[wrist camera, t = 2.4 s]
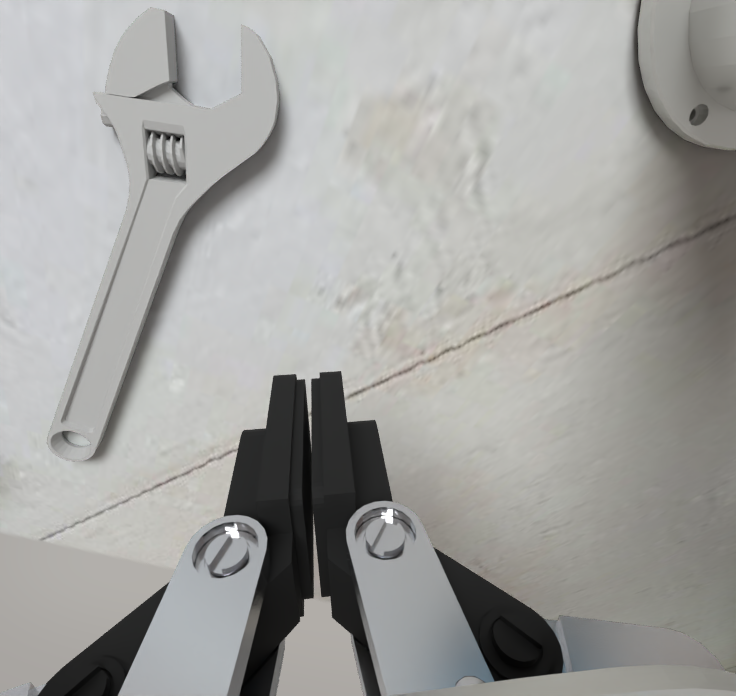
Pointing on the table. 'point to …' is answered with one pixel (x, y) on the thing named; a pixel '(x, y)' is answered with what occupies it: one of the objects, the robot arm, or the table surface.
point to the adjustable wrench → (154, 200)
